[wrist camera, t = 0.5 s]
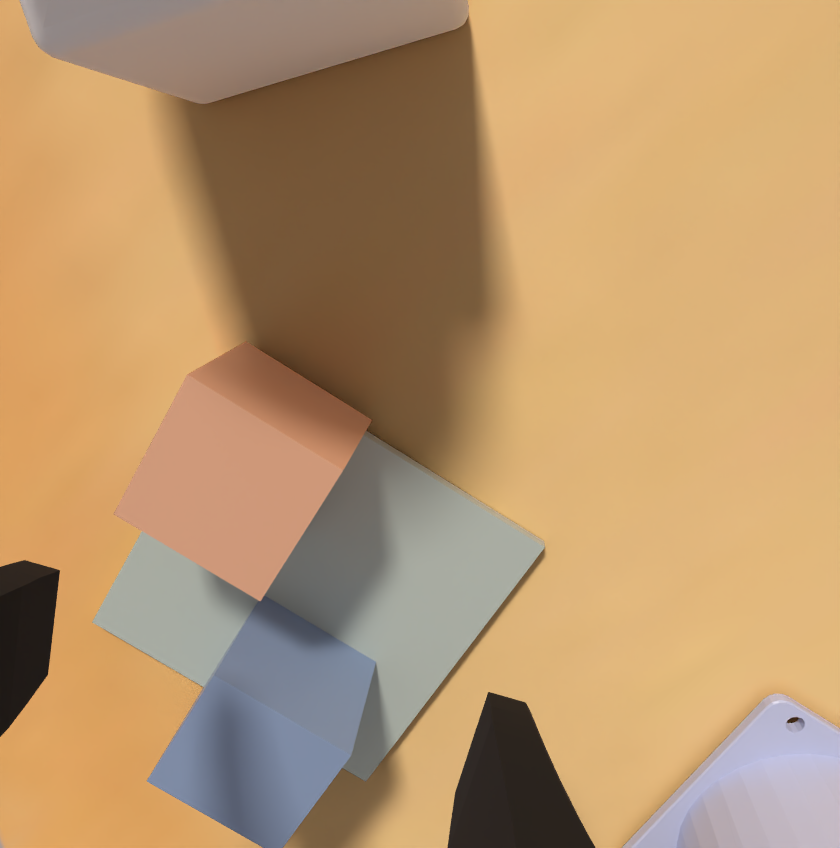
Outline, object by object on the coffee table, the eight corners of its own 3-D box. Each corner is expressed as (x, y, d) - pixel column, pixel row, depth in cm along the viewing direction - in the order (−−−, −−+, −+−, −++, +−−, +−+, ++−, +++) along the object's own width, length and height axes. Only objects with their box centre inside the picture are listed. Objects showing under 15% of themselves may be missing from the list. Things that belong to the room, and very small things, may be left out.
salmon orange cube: (372, 419, 20) (343, 470, 17) (302, 530, 22) (260, 601, 18) (246, 341, 20) (187, 374, 16) (182, 457, 21) (113, 513, 18)
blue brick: (376, 661, 23) (351, 755, 19) (312, 750, 24) (277, 855, 20) (262, 594, 22) (213, 675, 19) (203, 687, 24) (146, 781, 20)
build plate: (543, 541, 21) (544, 547, 21) (367, 772, 24) (365, 781, 24) (242, 353, 21) (237, 356, 20) (98, 615, 24) (92, 622, 23)
